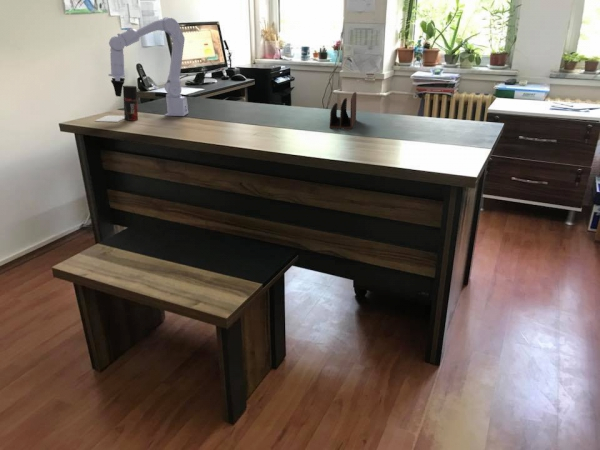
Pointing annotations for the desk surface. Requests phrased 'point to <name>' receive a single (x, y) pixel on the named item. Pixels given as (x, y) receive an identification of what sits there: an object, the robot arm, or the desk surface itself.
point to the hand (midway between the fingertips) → (118, 95)
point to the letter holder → (343, 115)
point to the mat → (110, 118)
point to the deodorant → (130, 102)
